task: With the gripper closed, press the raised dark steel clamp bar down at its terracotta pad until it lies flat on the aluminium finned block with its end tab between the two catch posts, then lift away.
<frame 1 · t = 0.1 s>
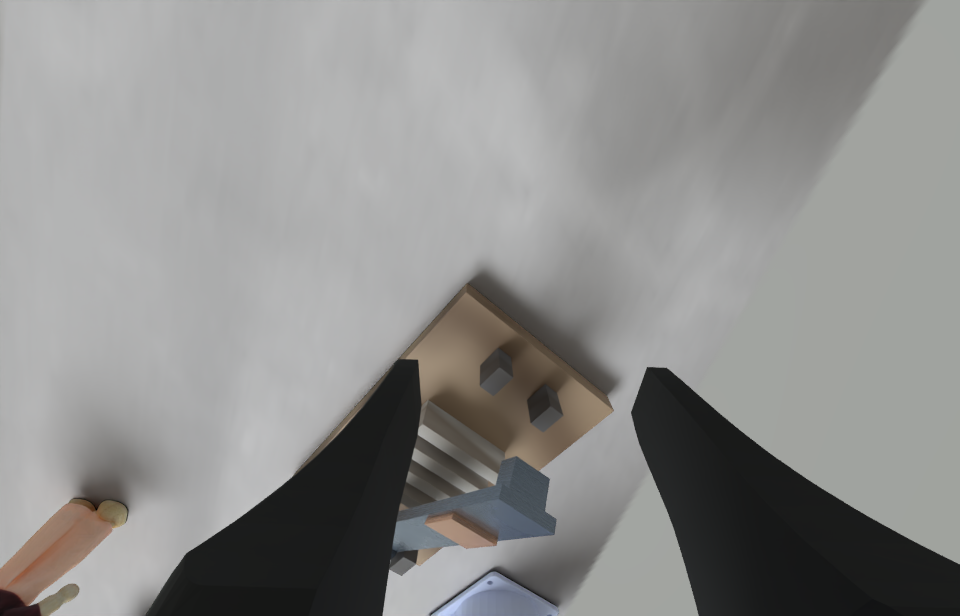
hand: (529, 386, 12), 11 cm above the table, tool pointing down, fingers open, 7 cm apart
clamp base: (440, 437, 27), on the table
grandmother figurine: (95, 508, 30), on the table
clamp bar: (434, 516, 20), point 6 cm above the table, hinge at 24.0°
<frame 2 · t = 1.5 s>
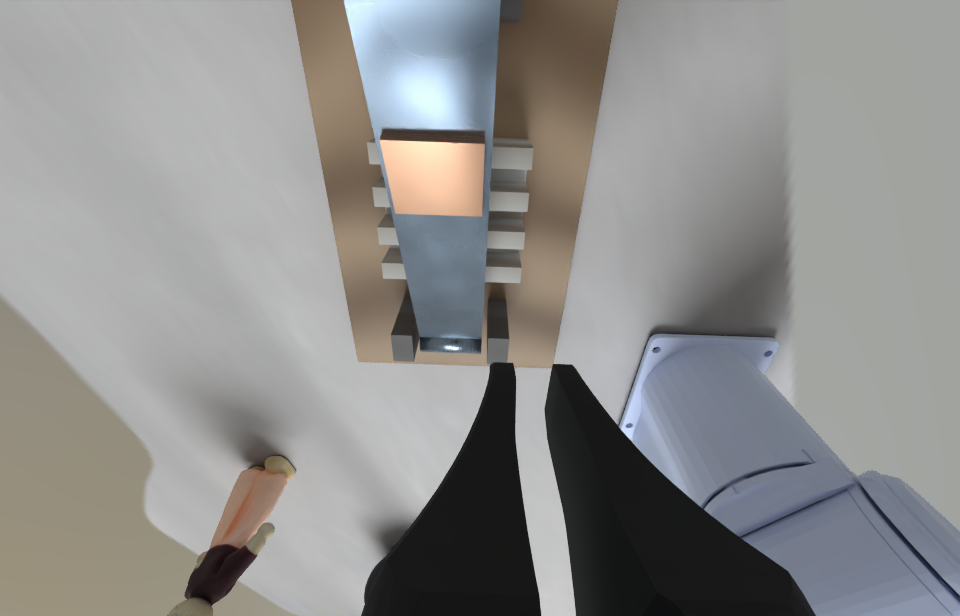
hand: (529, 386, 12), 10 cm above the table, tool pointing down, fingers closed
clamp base: (456, 195, 19), on the table
grandmother figurine: (269, 470, 32), on the table
clamp bar: (445, 231, 14), point 6 cm above the table, hinge at 24.0°
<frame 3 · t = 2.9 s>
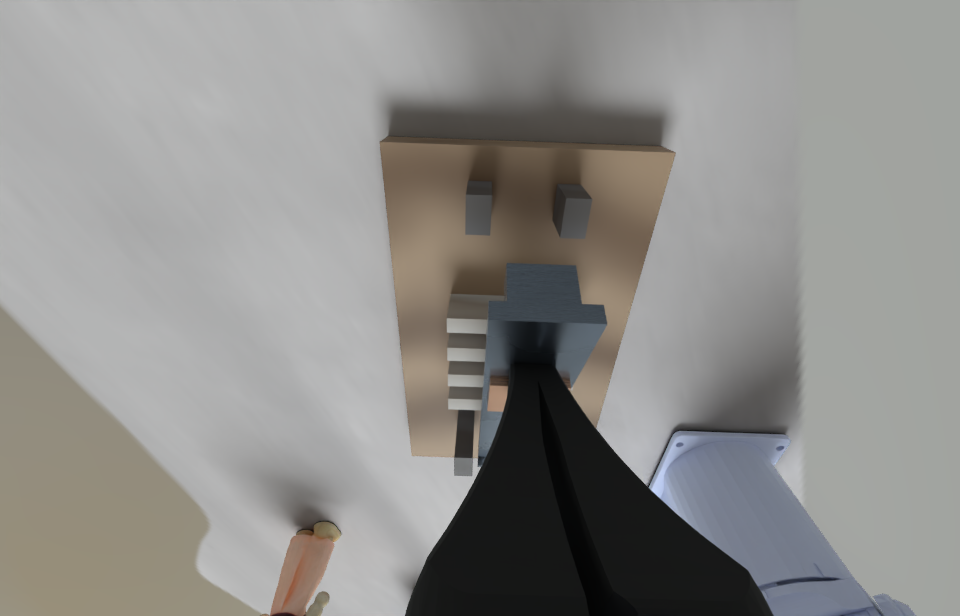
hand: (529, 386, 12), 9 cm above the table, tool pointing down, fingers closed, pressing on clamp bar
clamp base: (508, 327, 22), on the table
grandmother figurine: (316, 532, 35), on the table
clamp bar: (516, 400, 16), point 6 cm above the table, hinge at 23.0°, touching gripper
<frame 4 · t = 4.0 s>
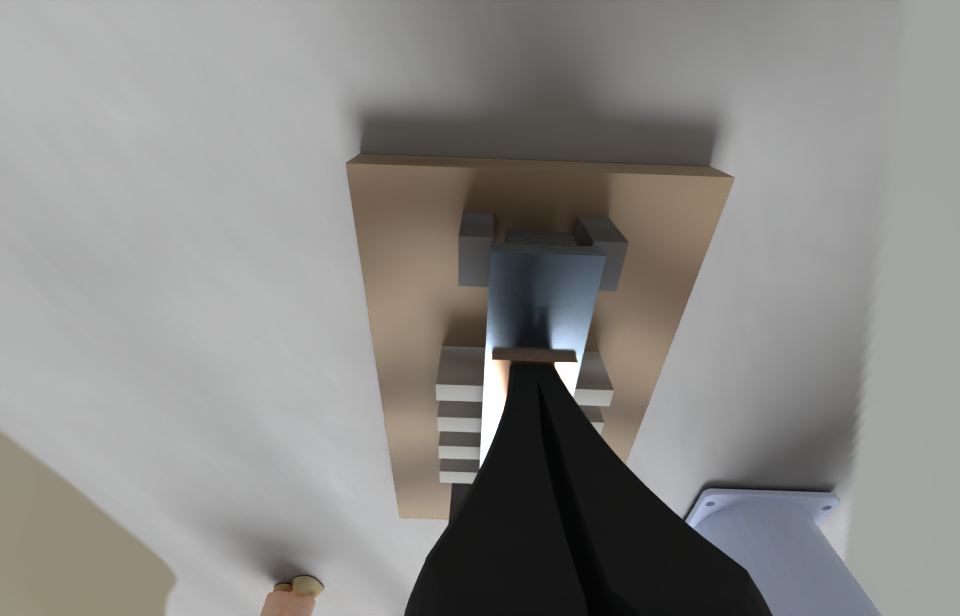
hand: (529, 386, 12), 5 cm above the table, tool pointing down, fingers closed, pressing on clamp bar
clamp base: (512, 378, 18), on the table
grandmother figurine: (296, 585, 31), on the table
clamp bar: (519, 424, 15), point 4 cm above the table, hinge at 0.7°, touching gripper
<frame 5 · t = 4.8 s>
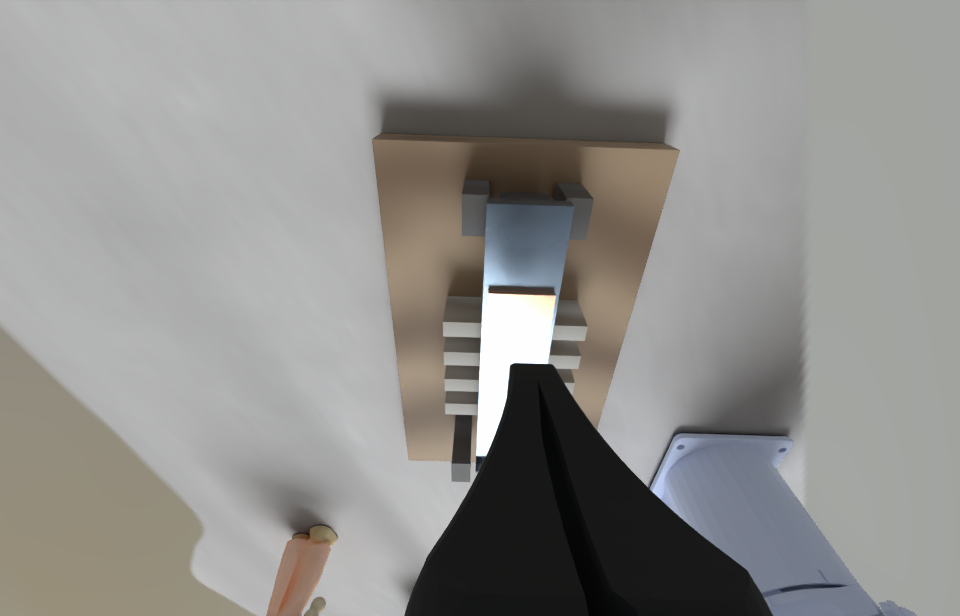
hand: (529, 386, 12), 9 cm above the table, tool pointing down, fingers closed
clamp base: (506, 329, 21), on the table
grandmother figurine: (312, 536, 34), on the table
clamp bar: (511, 358, 18), point 4 cm above the table, hinge at 0.7°
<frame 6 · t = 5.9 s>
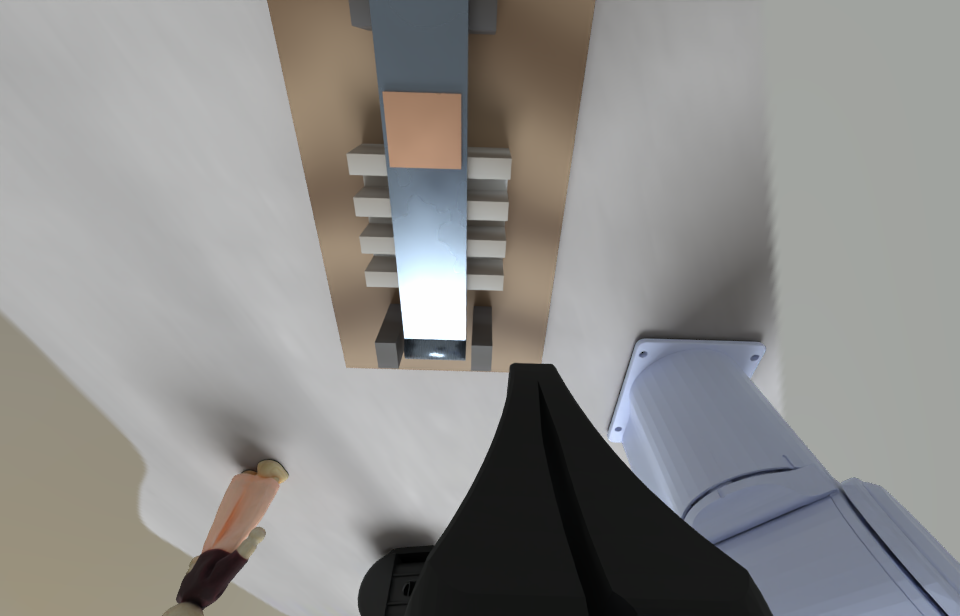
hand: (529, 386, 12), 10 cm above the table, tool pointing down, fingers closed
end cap: (415, 565, 41), on the table
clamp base: (440, 203, 19), on the table
grandmother figurine: (262, 474, 32), on the table
clamp bar: (431, 207, 16), point 4 cm above the table, hinge at 0.7°
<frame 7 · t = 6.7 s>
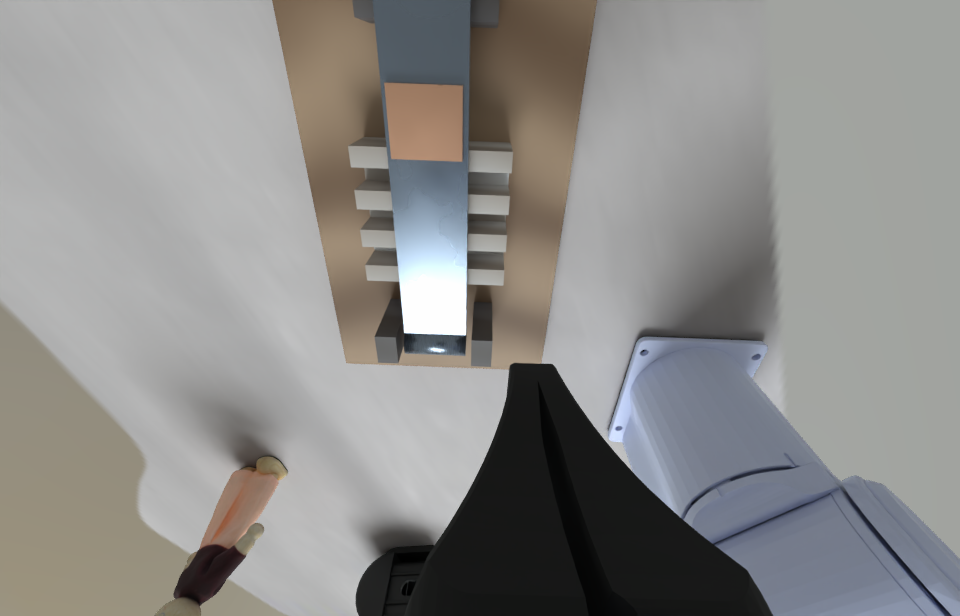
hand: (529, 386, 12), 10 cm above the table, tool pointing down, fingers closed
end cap: (413, 565, 41), on the table
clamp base: (442, 198, 19), on the table
grandmother figurine: (261, 471, 32), on the table
clamp bar: (432, 200, 16), point 4 cm above the table, hinge at 0.7°
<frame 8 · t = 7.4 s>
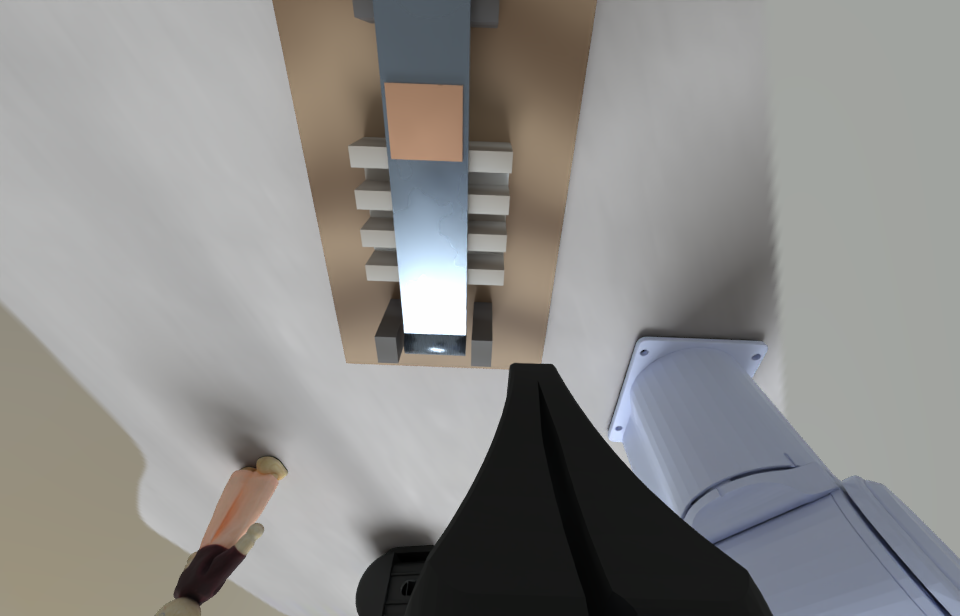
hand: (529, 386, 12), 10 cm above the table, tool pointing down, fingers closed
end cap: (413, 565, 41), on the table
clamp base: (442, 198, 19), on the table
grandmother figurine: (261, 471, 32), on the table
clamp bar: (432, 200, 16), point 4 cm above the table, hinge at 0.7°
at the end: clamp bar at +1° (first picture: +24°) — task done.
